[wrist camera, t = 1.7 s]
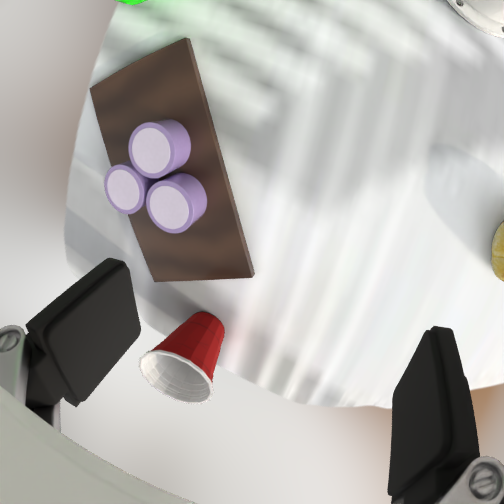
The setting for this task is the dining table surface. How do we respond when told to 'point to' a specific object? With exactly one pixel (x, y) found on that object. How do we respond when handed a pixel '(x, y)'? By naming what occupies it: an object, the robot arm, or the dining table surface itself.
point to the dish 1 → (159, 147)
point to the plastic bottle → (131, 1)
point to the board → (198, 165)
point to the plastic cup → (186, 360)
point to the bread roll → (498, 252)
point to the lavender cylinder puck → (127, 187)
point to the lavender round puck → (176, 202)
